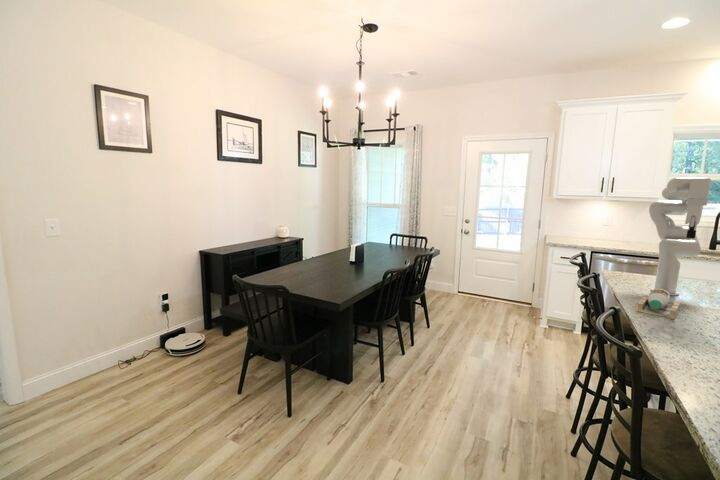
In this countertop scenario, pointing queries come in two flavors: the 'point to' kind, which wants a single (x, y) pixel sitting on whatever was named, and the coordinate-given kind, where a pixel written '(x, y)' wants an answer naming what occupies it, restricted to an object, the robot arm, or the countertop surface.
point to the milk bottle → (658, 298)
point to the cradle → (664, 312)
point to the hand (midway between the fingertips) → (690, 237)
